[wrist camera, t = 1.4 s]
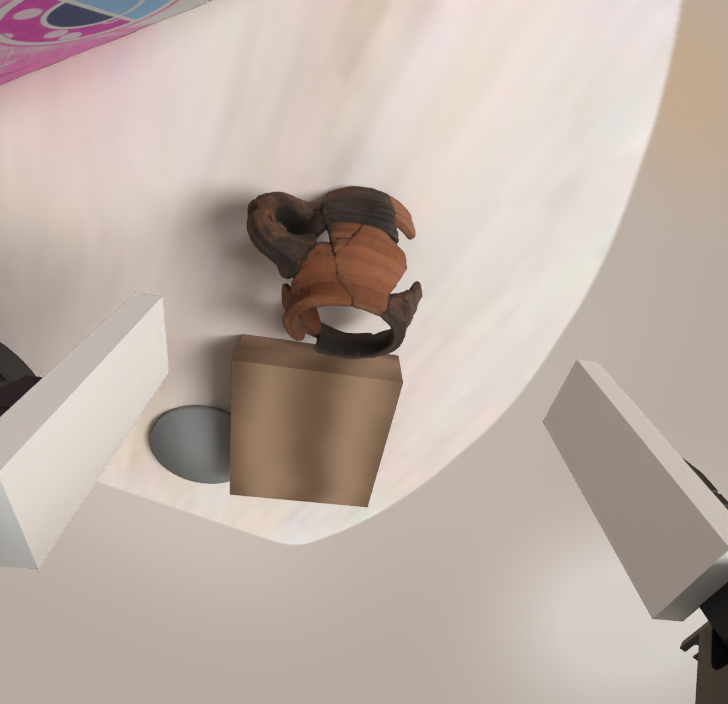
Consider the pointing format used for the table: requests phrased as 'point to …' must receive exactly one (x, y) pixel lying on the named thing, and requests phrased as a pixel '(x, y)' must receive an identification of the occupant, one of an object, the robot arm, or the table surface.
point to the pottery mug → (338, 264)
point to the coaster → (194, 443)
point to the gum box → (71, 28)
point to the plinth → (308, 421)
